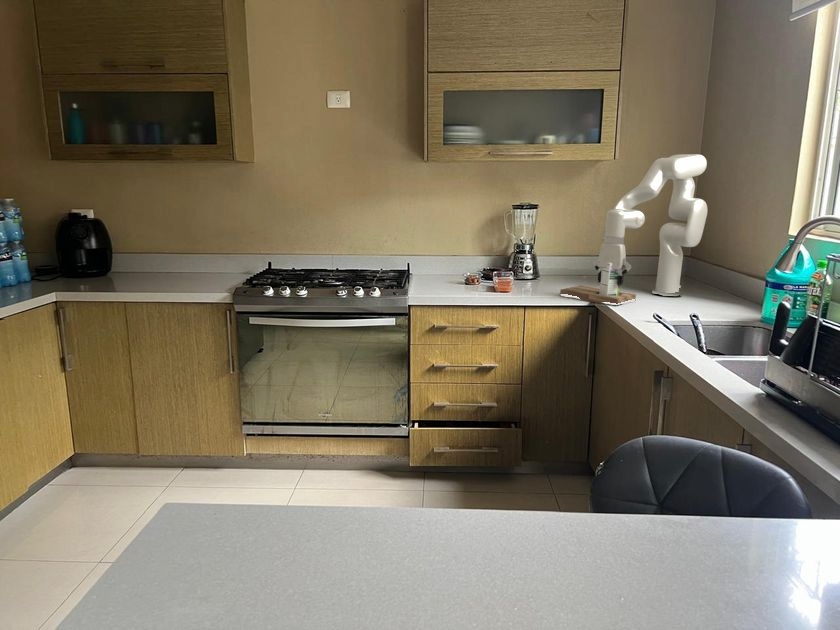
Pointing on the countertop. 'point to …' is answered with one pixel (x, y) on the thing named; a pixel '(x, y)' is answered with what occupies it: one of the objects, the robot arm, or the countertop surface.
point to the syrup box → (609, 281)
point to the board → (596, 295)
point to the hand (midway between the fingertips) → (610, 283)
